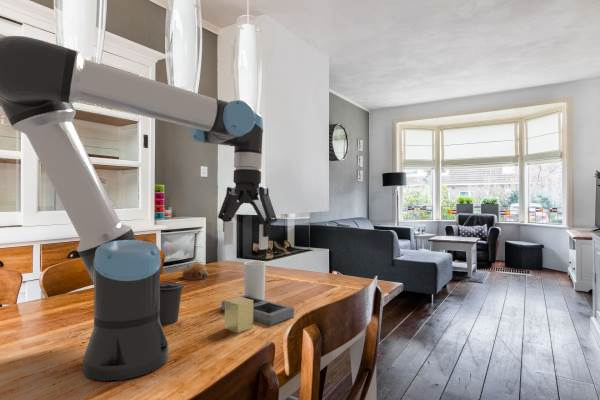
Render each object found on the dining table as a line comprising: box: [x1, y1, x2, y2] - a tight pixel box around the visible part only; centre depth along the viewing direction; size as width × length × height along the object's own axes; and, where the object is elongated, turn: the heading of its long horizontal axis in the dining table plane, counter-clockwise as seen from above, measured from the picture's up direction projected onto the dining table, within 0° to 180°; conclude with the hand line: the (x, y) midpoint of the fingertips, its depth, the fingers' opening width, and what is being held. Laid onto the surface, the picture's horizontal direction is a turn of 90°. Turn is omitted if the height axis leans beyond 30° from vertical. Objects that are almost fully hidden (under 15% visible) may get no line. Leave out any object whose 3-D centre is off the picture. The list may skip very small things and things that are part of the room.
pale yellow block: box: [224, 296, 254, 334], centre depth 90 cm, size 5×5×7 cm
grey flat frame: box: [221, 294, 295, 326], centre depth 102 cm, size 9×20×2 cm, turn 51°
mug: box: [243, 261, 266, 300], centre depth 116 cm, size 10×7×12 cm, turn 157°
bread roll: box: [182, 262, 209, 281], centre depth 148 cm, size 10×10×8 cm
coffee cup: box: [160, 281, 184, 326], centre depth 95 cm, size 8×8×10 cm
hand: (245, 246), depth 99 cm, fingers open, 13 cm apart
